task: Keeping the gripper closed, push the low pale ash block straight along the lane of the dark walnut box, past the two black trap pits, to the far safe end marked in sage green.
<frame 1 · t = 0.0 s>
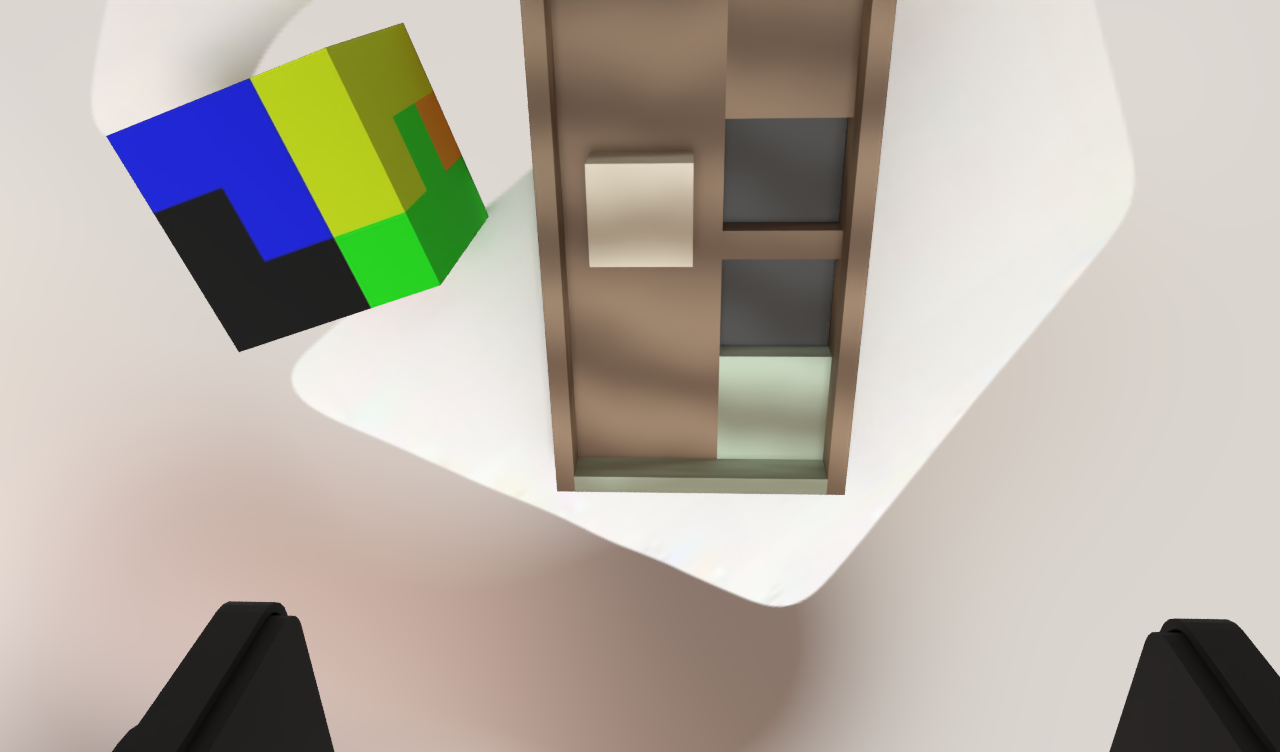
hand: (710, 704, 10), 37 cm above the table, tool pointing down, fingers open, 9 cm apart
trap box: (702, 222, 45), on the table
block: (642, 202, 43), point 1 cm above the table, touching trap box
puzzle toy: (361, 155, 45), on the table
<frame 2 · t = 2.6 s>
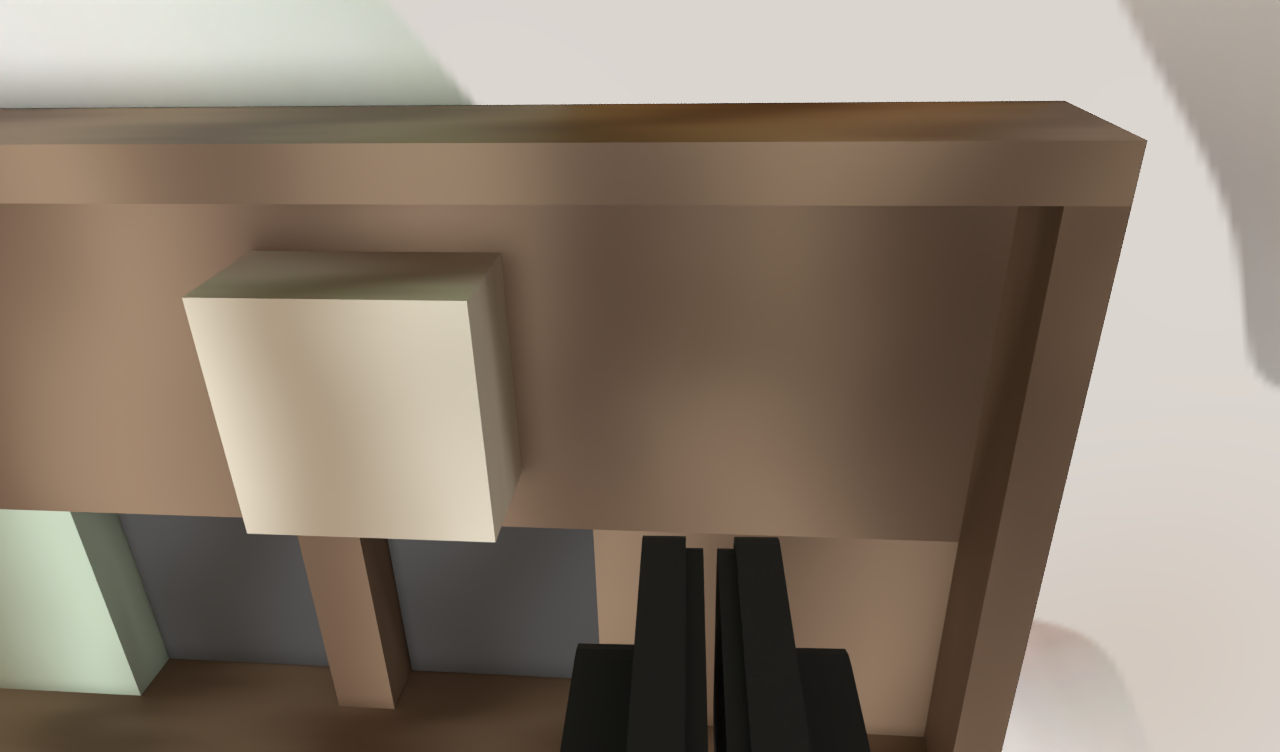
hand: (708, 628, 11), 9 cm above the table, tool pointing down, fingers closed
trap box: (372, 450, 21), on the table
block: (393, 366, 18), point 1 cm above the table, touching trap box
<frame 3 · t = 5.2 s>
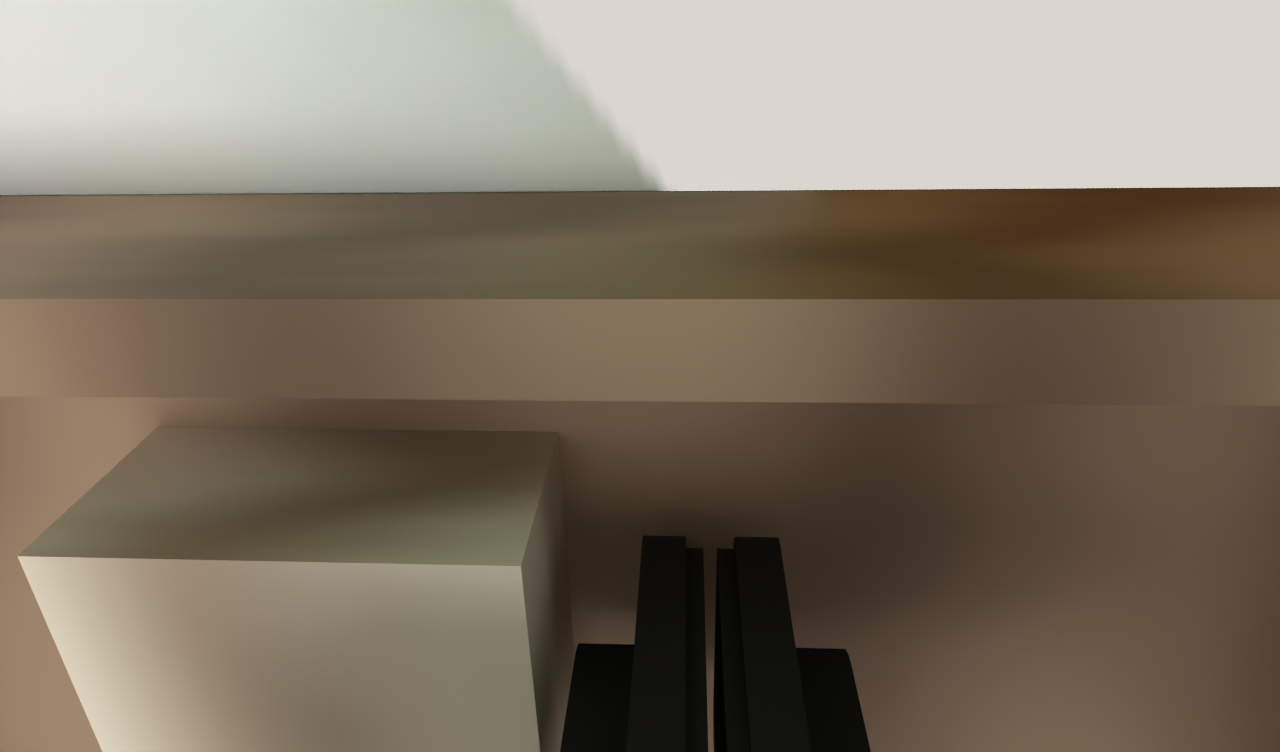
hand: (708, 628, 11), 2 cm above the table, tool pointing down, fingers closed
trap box: (465, 668, 14), on the table
block: (386, 589, 12), point 1 cm above the table, touching gripper, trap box
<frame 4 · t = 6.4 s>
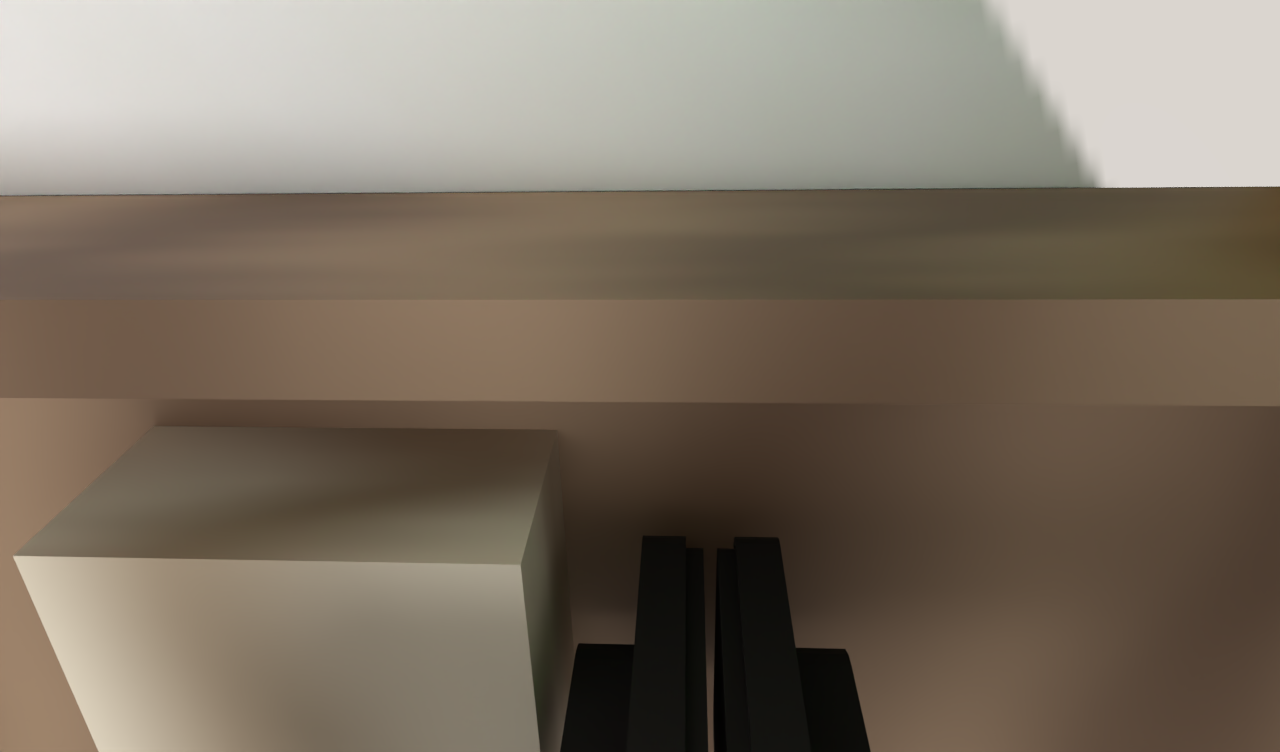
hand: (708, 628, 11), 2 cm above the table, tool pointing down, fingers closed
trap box: (780, 677, 14), on the table
block: (384, 588, 12), point 2 cm above the table, touching gripper
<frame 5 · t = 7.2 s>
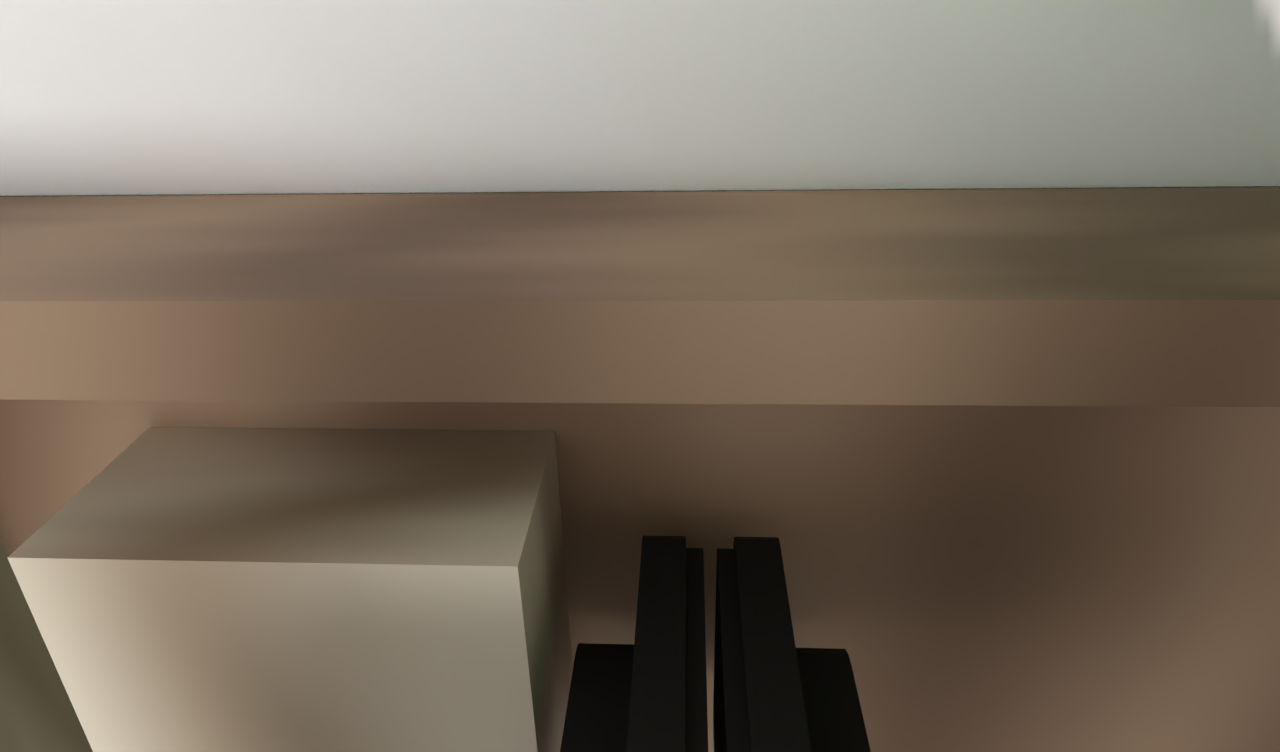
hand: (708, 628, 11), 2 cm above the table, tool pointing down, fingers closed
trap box: (958, 683, 14), on the table
block: (381, 589, 12), point 2 cm above the table, touching gripper
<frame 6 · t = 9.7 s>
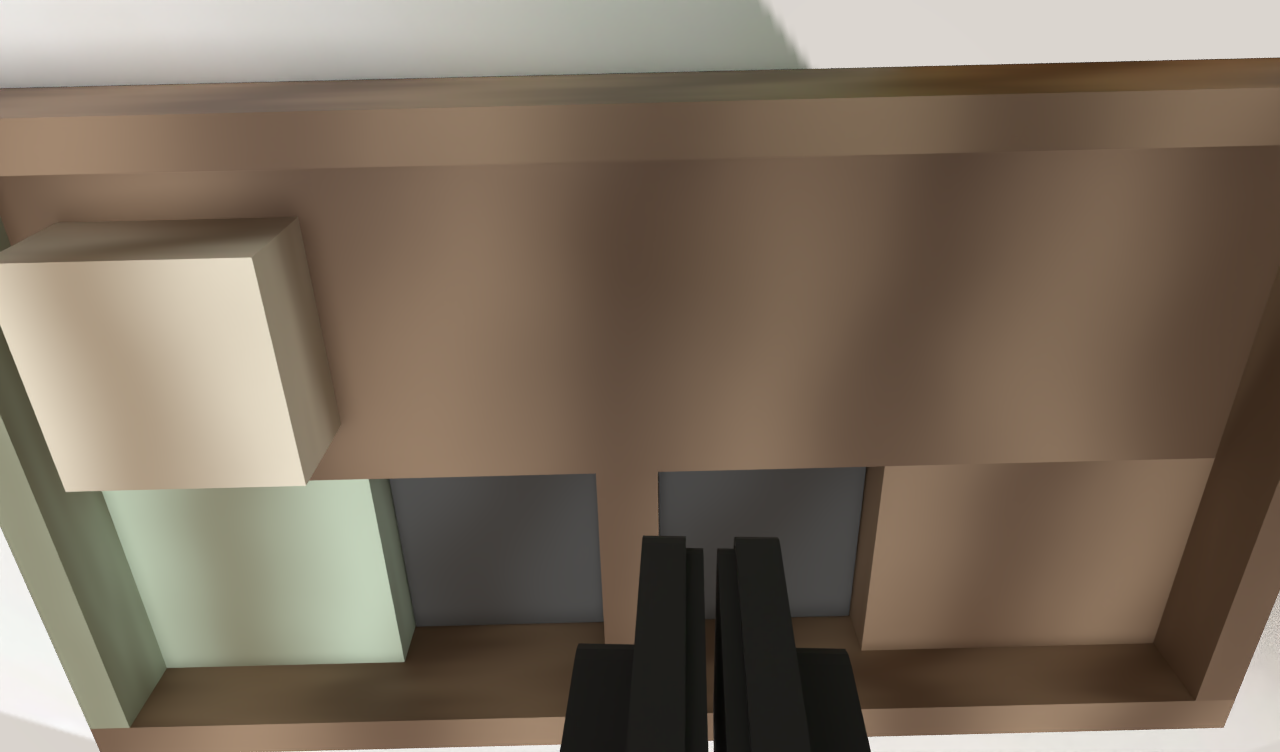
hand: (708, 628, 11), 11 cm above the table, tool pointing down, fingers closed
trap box: (655, 405, 22), on the table
block: (207, 329, 19), point 1 cm above the table, touching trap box
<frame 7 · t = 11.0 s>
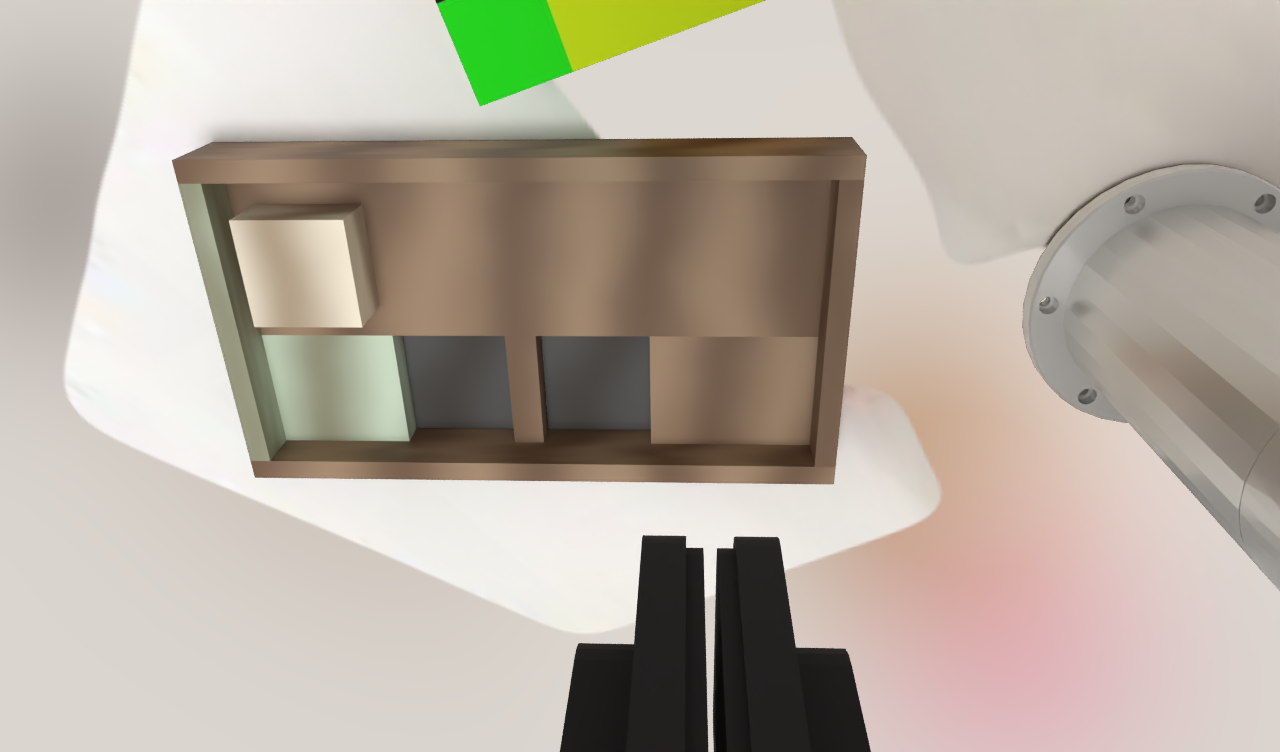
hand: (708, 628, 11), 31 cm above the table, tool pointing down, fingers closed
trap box: (538, 304, 43), on the table
block: (318, 256, 40), point 1 cm above the table, touching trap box
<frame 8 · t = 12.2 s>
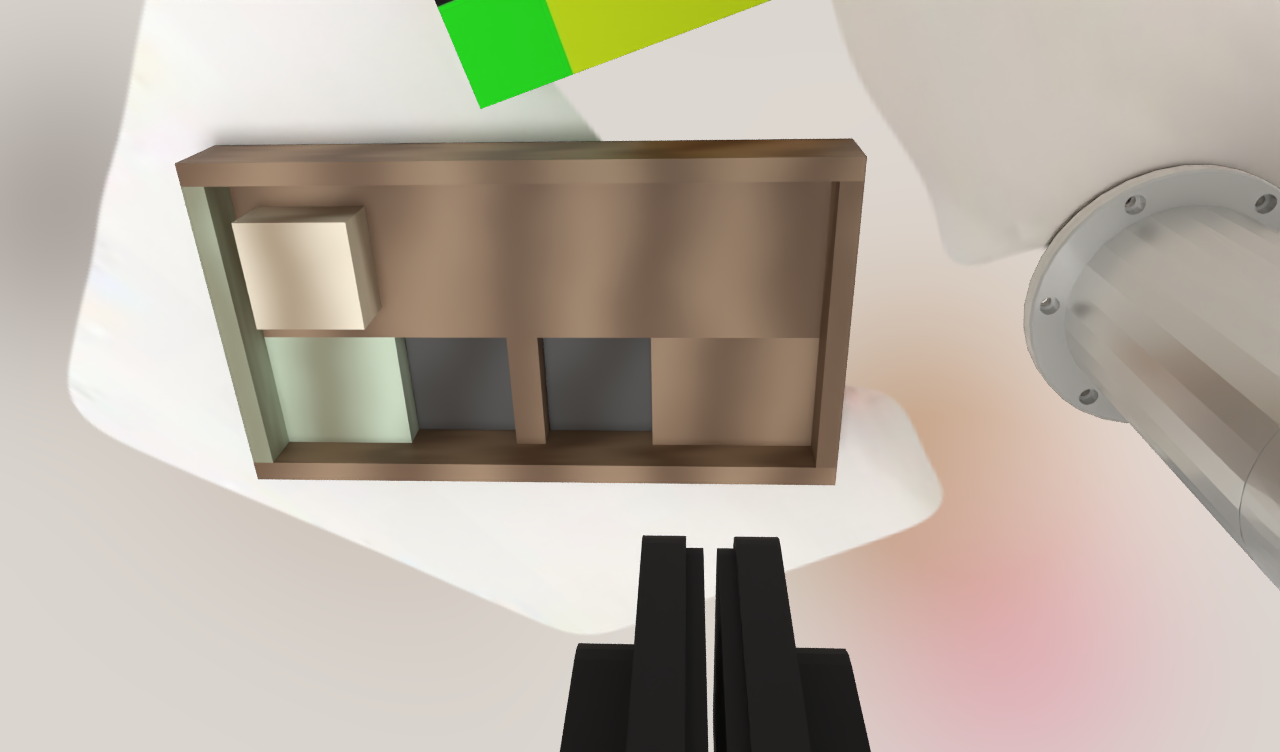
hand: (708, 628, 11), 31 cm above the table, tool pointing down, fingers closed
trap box: (540, 306, 43), on the table
block: (320, 258, 41), point 1 cm above the table, touching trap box
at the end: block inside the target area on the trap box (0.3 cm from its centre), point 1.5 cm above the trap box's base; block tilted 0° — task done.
